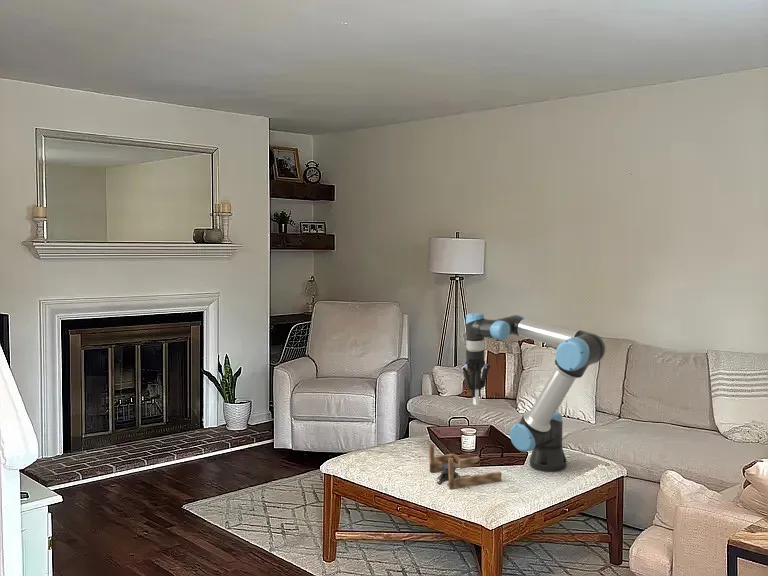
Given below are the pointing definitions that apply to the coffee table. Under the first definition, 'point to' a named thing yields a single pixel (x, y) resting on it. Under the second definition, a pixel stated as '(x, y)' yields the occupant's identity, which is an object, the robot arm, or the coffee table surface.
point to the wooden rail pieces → (462, 463)
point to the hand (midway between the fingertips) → (476, 404)
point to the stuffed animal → (445, 476)
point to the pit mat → (447, 466)
